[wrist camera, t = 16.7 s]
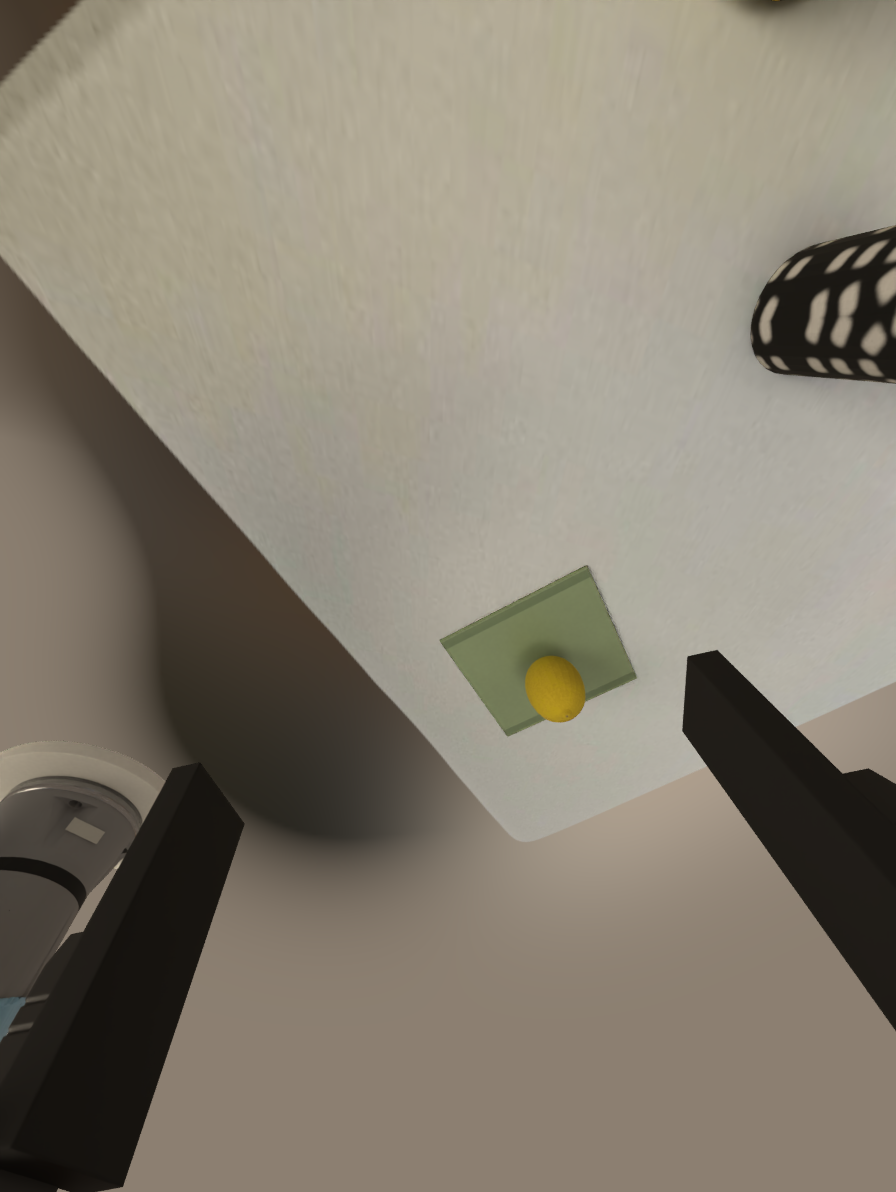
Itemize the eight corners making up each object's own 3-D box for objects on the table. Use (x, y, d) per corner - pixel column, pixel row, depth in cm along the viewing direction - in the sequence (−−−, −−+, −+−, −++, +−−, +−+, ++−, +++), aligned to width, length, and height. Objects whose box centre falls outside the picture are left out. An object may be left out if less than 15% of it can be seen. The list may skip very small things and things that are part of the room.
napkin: (507, 734, 53) (507, 737, 53) (439, 640, 46) (440, 641, 45) (635, 676, 50) (637, 678, 50) (586, 565, 43) (587, 566, 42)
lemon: (579, 654, 48) (609, 707, 41) (546, 689, 50) (569, 746, 43) (539, 632, 46) (563, 684, 39) (507, 670, 48) (524, 725, 41)
